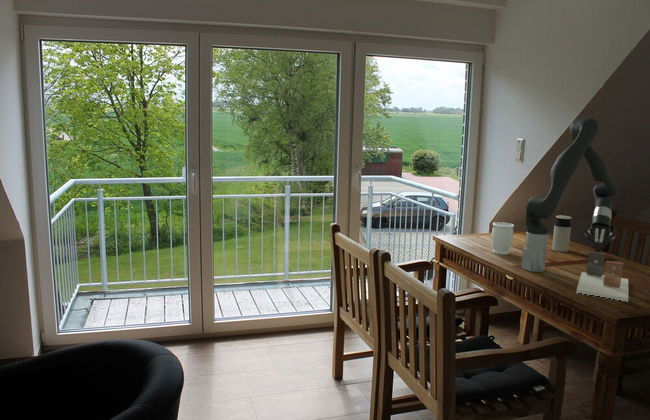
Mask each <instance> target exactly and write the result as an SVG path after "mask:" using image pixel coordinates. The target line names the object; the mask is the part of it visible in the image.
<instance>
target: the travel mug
mask: <svg viewBox="0 0 650 420" xmlns="http://www.w3.org/2000/svg"><path fill="white" fill-rule="evenodd" d="M555 218H556V219H555V221H554V226H553V227H554V228H553V235H552V243H551V246H552V247H551V249H552V250H553V251H555V252H557V253H558V252H559V253H567V252H569V250H570V241H571V232H572V231H571V230H572V222H571V220H572V216H569V215H568V216H567V215H556V216H555Z"/></svg>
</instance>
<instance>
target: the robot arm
mask: <svg viewBox="0 0 650 420" xmlns="http://www.w3.org/2000/svg"><path fill="white" fill-rule="evenodd" d="M599 130H600V123H599V121H598V120H597V119H596V118H592V117H589V118H587V117H586V118H580V119H579V118H578V119H575V120H573V121H572V122H571V123H570V126H569V133H570V135H571V138H572V139H573V142H572V143H571V145H570V146H568V147H567V148H566V149H565V150H563V151H562V152H561V153H560V154H559V155H558V156H557V158H556V160H555V161H554V162H553V165H552V167H551V169H550V174H549V177H550V183H551V184H550V189H549V191H548V193H547V196H545V197H542V196H532V197H530V198H529V199H528V201H527V203H526V210H525V211H526V212H525V228H526V232H525V233H526V234H525V243H524V247H523V248H522V256H521V257H522V258H521V267H520V268H521V269H523V270H525V271H528V272H531V273H532V272H533V273H541V272H545V268H546V260H547V259H546V257H547V251H548V250H547V249H548V240H549V230H550V229H549V227H548V226H547V225H546V224H545V223H544V222H543V220H549V219H550V218H552V217H553V215H554V214H555V212H556V210H557V208H558V205H559V204H560V201H561V198H562V196H563V194H564V191H565V190H566V188H567V185H568V184H569V182H570V180H571V179H572V178H573V175H574V173H575V171H576V169H577V168H578V165H579V163H580V162H581V160H582V158H583V159H584V161H585V163H586V166H587V168H588V170H589V173H590V175H591V178H592V180H593V181H596V182H601V183H598V184H595V185H594V186H593V188H592V192H593V193H592V194H593V198H594V209H593V214H592V218H591V219H592V220H591V227H590V228H589V229H588V230H586V229H585V230H584V234H583V235H584V236H585V238H586V239H587V240H588V241H589V243H590V244H594V246H593V250H594V252H597V253H600V252H601V251H602V247H603V245H604V246H606V245H608V244H609V243H610V242H612V241H614V240H615V238H616V233H613V232H612V231H611V230H612V229H611V225H612V224H611V222H612V211H613V210H612V209H613V202H612V200H611V199H610V198H615V197H618V194H619V191H620V190H619V187H618V184H617V183H616V181H615V180H614V179H613V178H612V176H611V175H610V173H609V171H608V169H607V167H606V166H607V165H606V163H605V161H604V158H602V156H601V155H600V154H599V153H598V152H597V150H596V149H594V147H593V146H592V143H593V141H594V140H595V138H596V136H597V135H598V133H599Z"/></svg>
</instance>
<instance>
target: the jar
mask: <svg viewBox="0 0 650 420" xmlns="http://www.w3.org/2000/svg"><path fill="white" fill-rule="evenodd" d="M514 227H515V225H514V224H513V223H510V222H504V221H502V222H501V221H498V222H497V221H495V222H492V229H491V230H492V231H491V246H492V248H493V249H492V253H494V254H495V255H496V254H497V255H503V256H504V255H509V254H510V249H511V247H512V243H513V240H514V239H513V238H514Z"/></svg>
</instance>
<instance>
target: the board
mask: <svg viewBox="0 0 650 420" xmlns="http://www.w3.org/2000/svg"><path fill="white" fill-rule="evenodd" d="M604 275H605V274H602V277H601V276H594V275H588V274H587V272H584V271H582V272H581V274H580V277H579V281H578V284H577V286H576V292H575V293H576V294H578V293H582V294H581V295H584V294H587V295H586V296H589V295H594V296H593V297H595V296H600V297H599V298H601V297H606V298H605V299H607V298H611V299H610V300H613V299H615V301H619V300H621V301H620V302H625V301H626V303H629V279H628V278H623V277H621V283H620V288H619V287H612V286H606V285H603V283H604Z"/></svg>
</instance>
